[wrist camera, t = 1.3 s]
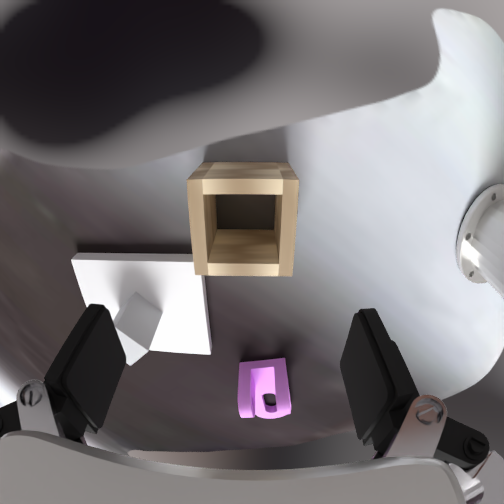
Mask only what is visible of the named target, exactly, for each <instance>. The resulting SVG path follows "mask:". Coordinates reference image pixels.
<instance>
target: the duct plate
mask: <svg viewBox="0 0 504 504" xmlns="http://www.w3.org/2000/svg"><path fill="white" fill-rule="evenodd" d="M71 261H72V264H73V268H74V271H75V274H76V277H77V280H78V283H79V286H80V289H81V292H82V295H83V298H84V301H85V304H86V306H87V307H88V305H89V304H91V303H92V304H102V305H104V306H105V307H106V308H107V309H108V310H109V311H110V314H111V317H112V320H113V323H114V325H115V328H116V331H117V334H118V336H119V339H120V342H121V344H122V347H123V349H124V352H125V354H126V363H127V364H129V365H130V366H131V365H132V364H133V363H135V362H136V361H137V360H138V359H140V358H141V357H142V356H143V355H144V354H146V353H147V352H148V351H149V350H155V351H165V352H178V353H192V354H210V355H211V349H212V341H211V333H210V324H209V315H208V306H207V296H206V286H205V276H204V275H195V270H194V261H193V254H140V253H77V254H76V255H75V256H74V257H73V258H72V259H71Z"/></svg>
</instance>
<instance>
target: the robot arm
mask: <svg viewBox="0 0 504 504" xmlns="http://www.w3.org/2000/svg"><path fill="white" fill-rule="evenodd" d="M456 256H457V263H458V266H459V269H460V271H461V272H462V274H463V275H464V276H465V277H466V278H467V279H468V280H469V281H471V282H473V283H477V284H479V283H486V282H488V283H489V284H490V285H491V286H492V287H493V288H494V289H495V290H496V291H497V292H498V293H499V294H500V295H501V297H502V298H503V299H504V184H496V185H493V186H491V187H489V188H487V189H486V190H484V191H483V192H482V193H481V194H480V195H479V196H478V197H477V198H476V199H475V201H474V202H473V204H472V205H471V206H470V208H469V210H468V212H467V213H466V215H465V218H464V220H463V222H462V225H461V228H460V231H459V235H458V240H457V248H456ZM125 364H126V354H125V352H124V349H123V347H122V344H121V342H120V339H119V336H118V334H117V331H116V328H115V325H114V323H113V320H112V317H111V314H110V311H109V310H108V309H107V308H106V307H105V306H104V305H102V304H92V303H91V304H89V305H88V307H87V308H86V310H85V311H84V313H83V314H82V316H81V317H80V319H79V321H78V322H77V324H76V325H75V327H74V328H73V330H72V331H71V333H70V335H69V336H68V338H67V339H66V341H65V343H64V344H63V346H62V348H61V349H60V351H59V353H58V354H57V356H56V358H55V359H54V361H53V363H52V365H51V366H50V368H49V370H48V372H47V374H46V375H45V377H44V379H45V381H44V383H42V382H41V381H39V380H30V381H27V382H26V383H24V384H23V385H22V386H21V387H20V389H19V390H18V393H17V401H15V402H12V403H10V404H8V405H6V406H3V407H1V408H0V504H504V459H503V458H502V457H501V456H500V455H498V454H497V453H496V452H495V451H492V452H490V451H489V442H488V440H487V438H486V437H485V435H484V434H482V433H481V432H479V431H477V430H474V429H472V428H470V427H468V426H466V425H464V424H462V423H459V422H457V421H455V420H453V419H451V418H449V417H447V409H446V406H445V405H444V403H443V402H442V401H441V400H440V399H439V398H437V397H435V396H433V395H421V396H420V395H419V393H418V391H417V388H416V386H415V384H414V381H413V379H412V377H411V375H410V372H409V370H408V368H407V366H406V364H405V362H404V359H403V357H402V355H401V353H400V351H399V349H398V347H397V345H396V343H395V342H394V341H393V340H391V339H390V337H389V335H388V333H387V331H386V329H385V327H384V325H383V323H382V321H381V319H380V317H379V315H378V313H377V311H376V309H374V308H370V309H360V310H359V312H358V313H355V314H354V317H353V320H352V324H351V328H350V331H349V335H348V338H347V341H346V345H345V348H344V351H343V354H342V358H341V361H340V368H341V373H342V376H343V380H344V384H345V388H346V392H347V395H348V399H349V403H350V407H351V411H352V416H353V420H354V424H355V428H356V432H357V436H358V439H360V440H361V439H362V440H363V445H364V446H365V445H370V444H373V445H374V449H375V450H376V452H375V454H374V455H373V457H372V459H371V460H365V461H360V462H353V463H347V464H340V465H331V466H322V467H313V468H301V469H286V470H227V469H211V468H200V467H189V466H182V465H174V464H167V463H161V462H155V461H149V460H144V459H139V458H135V457H130V456H126V455H121V454H117V453H113V452H109V451H106V450H102V449H98V448H95V447H91V446H88V445H87V443H86V441H85V439H84V436H83V435H84V432H85V431H87V432H90V433H94V434H97V431H98V428H101V427H102V426H103V423H104V420H105V417H106V414H107V412H108V409H109V406H110V403H111V401H112V398H113V395H114V392H115V390H116V387H117V385H118V382H119V379H120V377H121V374H122V372H123V369H124V367H125Z"/></svg>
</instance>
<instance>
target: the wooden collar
mask: <svg viewBox="0 0 504 504" xmlns="http://www.w3.org/2000/svg"><path fill="white" fill-rule="evenodd" d="M187 191H188V205H189V218H190V230H191V241H192V251H193V261H194V270H195V275H219V276H292V272H293V261H294V248H295V236H296V222H297V207H298V191H299V179H298V177H297V176H296V174H295V172H294V171H293V169H292V168H291V166H290V164H289V163H280V162H207V163H202V164H201V165H200V166H199V167H198V168H197V169H196V170H195V171H194V172H193V173H192V175H191V176H190V177H189V178H188V179H187ZM216 194H275V217H274V230H252V229H217V211H216Z"/></svg>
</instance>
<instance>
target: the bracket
mask: <svg viewBox="0 0 504 504" xmlns="http://www.w3.org/2000/svg"><path fill="white" fill-rule="evenodd" d="M265 393H273V394H275V395H276V405H275V406H268V405H266V404H265V401H264V397H263V394H265ZM238 408H239V413H240V416H241V418H249V417H255V415H257V416H259V417H262V418H279V417H282V416H285V415H287V414H291V401H290V393H289V385H288V377H287V369H286V362H285V358H278V359H270V360H260V361H250V362H240V364H239V382H238Z"/></svg>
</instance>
